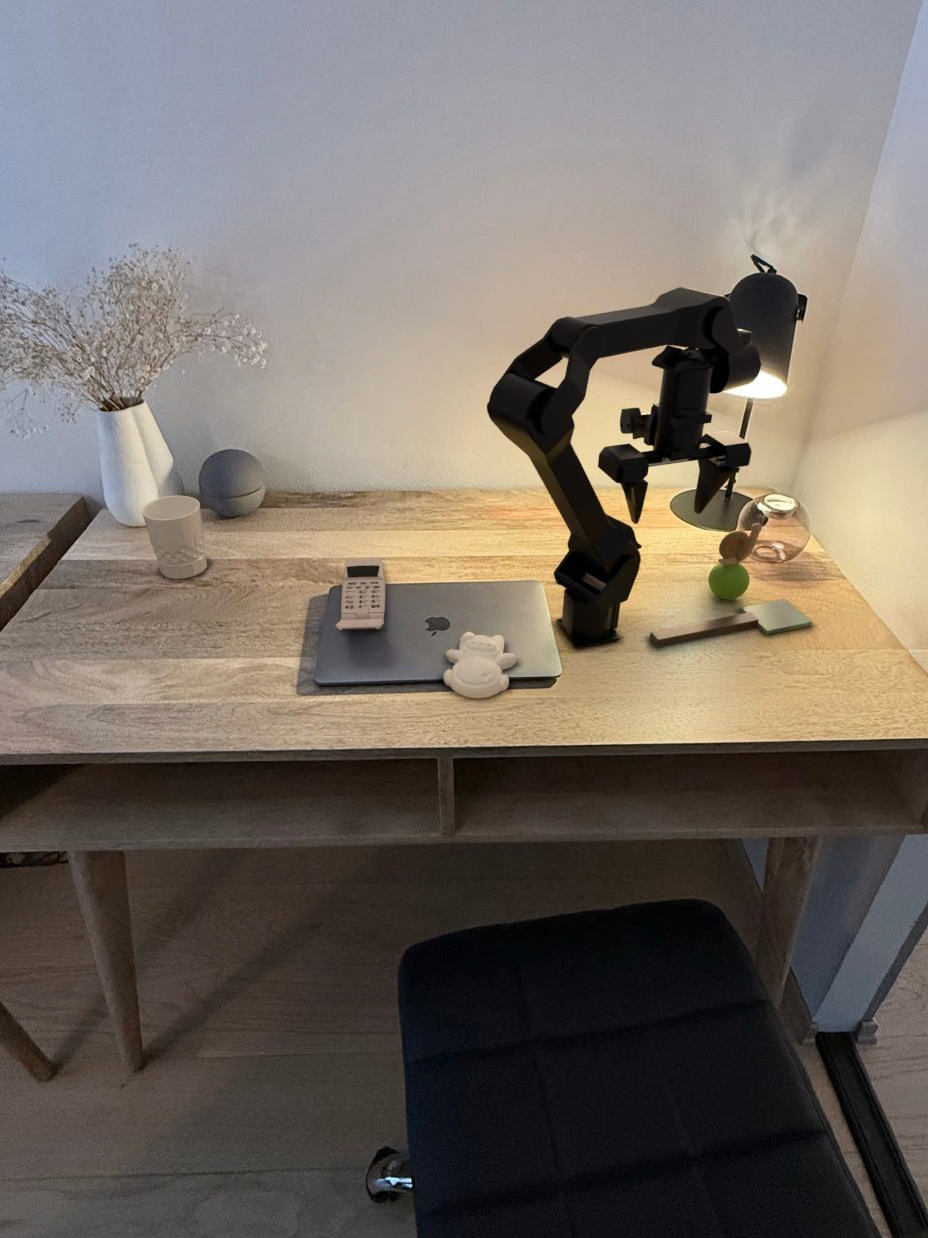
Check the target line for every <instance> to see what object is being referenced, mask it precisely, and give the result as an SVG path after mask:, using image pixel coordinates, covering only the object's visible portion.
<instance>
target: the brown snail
mask: <svg viewBox="0 0 928 1238" xmlns="http://www.w3.org/2000/svg"><path fill="white" fill-rule="evenodd" d="M757 519H758V521H757V522H755V523H753V524H752V525H751V527H750V534H749V535H748V534H747V532H745V531H743V530H740V529H738V530H733V531H730V532H729V533H727V534H726V535H725V536H724V537H723V538H722V540H721V541H720V543H719V546H718V553H719V555H720V556H721V558H718V559H717V562H718V563H717V564H716V565H714V566H713V567H712V569H710V572H709V574H708V580H707V582H708V587H709V588H710V591H711V592H712V593H713V595H714V596H716V597H718V598H719V599H723V600H728V601H729V600H734V599H738V598H739V597H741V596H743V595H744V594H745V592H746V591H747V590H748V588H749V585H750V574H749V571H748V569H747V568H746V567H745V566H744V565H743V564H741V562H743V561H745V560H746V559H747V558H748V557H749V556H750V554H751V553H752V552H753V550H754V548H755V546H756V544H757V542H758V539H759V535H760V533H761V532H762V530H763V523H764V521H765V520H766V517H765V516H764V515H763V516H762V514H761V513H759V514H757ZM760 520H761V523H760Z"/></svg>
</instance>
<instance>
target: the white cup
mask: <svg viewBox="0 0 928 1238" xmlns="http://www.w3.org/2000/svg"><path fill="white" fill-rule="evenodd" d="M201 510H202V509H201V503H200V501H199V500H198V499H197V498H194V497H192V496H189V495H170V496H169V495H167V496H163V497H160V498H157V499H153V500H152V501H150V502H148V503H146V505H144V506H143V508H142V509H141V514H142V517H143V520H144V523H145V528H146V530H147V534H148V537H149V542H150V544H151V546H152V550H153V553H154V555H155V558H156V561H157V564H158V568H159V571H160V574H162V575H163V576H164V577H165V578H168V579H172V580H183V579H188V578H192V577H196V576H198V575H199V574H201V573H203V572H204V571H206V569H207V568H208V560H207V555H206V549H207V547H206V537H205V532H204V525H203V518H202V511H201Z"/></svg>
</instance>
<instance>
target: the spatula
mask: <svg viewBox="0 0 928 1238" xmlns="http://www.w3.org/2000/svg"><path fill="white" fill-rule="evenodd" d="M812 624H813V621H812V620H810V619H809V617H807V616H806V615H805V614H804V613H802V612H801V611H800V610H798V609H797V608H796V607H795V606H794V605H793V604H791V603H790V602H788V601H787V600H786V599H785V598H783V599H778V600H773V601H768V602H763V603H758V604H752V605H748V606H743V607H741V608H740V613H739V614H733V615H727V616H724V617H719V618H713V619H709V620H708V619H707V620H703V621H699V622H698V621H697V622H693V623H688V624H682V625H678V626H673V627H672V626H671V627H668V628H662V629H657V630H651V631H650V634H649V640H650V642H651V643H653V645H654V646H655V647H656V648H660V647H665V646H666V647H667V646H671V645H677V644H680V643H685V642H690V641H696V640H701V639H705V638H710V637H714V636H721V635H725V634H730V633H735V632H740V631H744V630H751V629H754V628H758V629H759V630H760V631H761V632H762V633H763V634H765V635H766V636H770V635H775V634H778V633H784V632H789V631H793V630H798V629H803V628H807V627H811V626H812Z"/></svg>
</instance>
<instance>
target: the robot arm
mask: <svg viewBox="0 0 928 1238" xmlns="http://www.w3.org/2000/svg"><path fill="white" fill-rule="evenodd" d="M752 338H753V332H752V331H749V330H746V329H742V328H738V327H737V323H736V320H735V318H734V315H733V312H732V310H731V304H730V299H729V297H727V296H724V295H720V294H715V293H711V292H707V291H703V290H698V289H694V288H689V287H686V286H685V287H684V286H680V287H676V288H674V289H671V290H669V291H666V292H664V293H662V294H659V296H658V297H657V298H656V299H655V301H654V302H652V303H650V304H648V305H642V306H637V307H631V308H630V307H629V308H624V309H618V310H613V311H606V312H600V313H594V314H589V315H588V314H587V315H582V316H577V317H574V316H569V315H568V316H564V317H559V318H558V319H556V320H555V321H554V322H553V323H552V324H551V325H550V327H549V329H548V330H547V331H546V332H545V334H544V335H543V336H542V338H541V339H539V340H538V341H537V342H535V343H534V344H532V345H531V346H529V347H528V348H526V349H525V350H524V351H522V352H521V353H519V354H518V355H517V356H516V357H515V358H514V359H513V360H512V361H511V363H510V364H509V366H508V367H507V369H506V370H505V372H504V373H503V374H502V375H501V377H500V379H499V380H498V381H497V382H496V384H495V385H493V388H492V390H491V392H490V394H489V398H488V399H489V401H488V402H487V403H486V411H487V415H488V418H489V419H490V421H491V422H492V423H493V424H494V426H496V427H497V429H498V430H499V431H500V432H501V434H503V435H504V436H505V438H507V439H508V440H509V441H510V442H512V444H514V445H515V446H516V447H518V448H519V449H520V450H521V451H522V452H523V453H524V454H525V455H527V456H528V458H529V459H530V462H531V463H532V465H533V467H534V469H535V470H536V472H537V474H538V476H539V478H540V480H541V481H542V483H543V485H544V487H545V489H546V490H547V493H548V494H549V496H550V498H551V500H552V501H553V503H554V506H555V507H556V508H557V509H556V510H558V513H559V515H560V516H561V518H562V519H563V522H564V523H565V525H566V527H567V528H568V530H569V533H570V535H569V538H568V541H567V548H568V551H567V552H566V554H565V555H564V557H563V558H562V560H561V561H560V563H559V564H558V565H557V567H556V568H555V569H554V571H553V576H554V580H555V584H557V585H558V586H561V587H563V588H564V590H563V602H562V614H561V617H560V618H557V619H556V621H555V625H557V627H558V628H559V630H560V631H561V632H562V633H563V635H564V636H565V637H566V639H567V640H568V641H569V643H570V644H571V646H572V647H573V648H575V649H581V648H586V647H592V646H596V645H602V644H607V643H612V642H617V641H619V640H620V639H621V638H620V637H621V635H620V634H619V632H618V631H617V630H616V629H617V628H618V627H619V618H620V611H621V604H623V603H625V602H626V601H628V600H629V597H630V595H631V592H632V589H633V586H634V584H635V582H636V579H637V576H638V574H639V571H640V566H641V559H642V556H641V553H640V549H641V548H643V545H642V544H640V543H639V542H638V540H637V537H636V533H635V530H634V529H633V527H632V526H631V525H630V524H628V523H625V522H623V521H622V520H619V518H616V517H613V516H612V515H610V514H608V513H606V512H605V509H604V507H603V506H602V503H601V502H600V499H599V497H598V495H597V493H596V490H595V488H594V487H593V485H592V483H591V481H590V479H589V477H588V474H587V472H586V470H585V469H584V467H583V465H582V463H581V460H580V458H579V456H578V454H577V453H576V451H575V447H574V446H573V443H572V438H573V435H574V432H575V429H576V422H575V419H574V414H575V413H576V411H577V410H578V409H579V407H580V406H581V404H582V403H583V402H584V400H585V398H586V395H587V391H588V390H587V389H588V385H589V379H590V375H591V370H592V368H593V367H594V366H595V364H596V363H597V362H598V360H600V359H605V358H610V357H615V356H620V355H624V354H629V353H634V352H638V351H644V350H648V349H654V348H659V347H664V346H665V347H664V349H663V350H662V351H661V352H660V353H658V354H657V355H656V356H655V357H654V358H653V359H652V361H651V366H652V367H655V368H658V369H661V370H662V376H661V383H660V384H661V385H660V392H659V399H658V402H655V403H652V406H651V408H650V412H644V413H642V411H641V408H640V407H638V406H637V407H628V408H627V407H626V408H621V412H620V418H619V431H620V432H621V434H623V435H630V434H632V440H637V439H643V444H645V445H646V446H647V447H649V446H651V447H652V450H644V451H639V450H638V448H636V447H635V446H634V445H632V444H631V443H622V444H615V445H607V446H604V447H603V448H602V449H601V450H600V452H599V454H598V460H597V468H599V469H600V471H602V472H603V473H604V474H605V475H606V476H607V477H609V478H610V479H611V480H612V481H613V482H614V483H615V484H619V485H620V486H621V489H622V491H623V494H624V498H625V502H626V505H627V509H628V513H629V516H630V520H631V523H633V524H634V525H638V524H639V522H640V518H641V517H642V513H643V508H644V504H645V499H646V495H647V492H648V487H649V481H647V480H646V479H645V478H646V477H648V475H649V468H651V467H658V466H665V465H666V466H667V465H671V464H672V465H673V464H680V463H686V462H687V463H688V462H693V461H697V464H698V469H699V470H698V477H697V483H696V489H695V495H694V501H693V502H694V503H693V511H694V513H695V514H697V515H700V514H702V512H703V511H704V510H705V508H706V507H707V506H708V505H709V504H710V502H711V501H712V500H713V498H714V497H715V496H716V494H717V493H718V492H719V491H720V489H721V488H722V487H723V486H724V485H725V484H726V483H727V482H728V481H729V480H730V479H731V477H732V476H733V475H734V474H739V473H740V470H741V467H749V465H750V463H751V458H752V453H753V450H752V447H751V445H750V443H749V441H746V440H745V439H743V438H742V437H741V436H739V435H738V434H736V433H734V432H732V431H731V430H728V429H727V430H721V431H713V432H706V433H704V428H705V424H712V418H713V414H712V413H711V412H709V411H707V410H708V404H709V397H710V394H711V395H715V394H721V393H723V392H727V391H730V390H734V389H736V388H737V389H738V388H740V387H743V386H747V385H749V384H751V383H753V382H754V381H755V380H756V379H757V378H758V376H759V374H760V371H761V369H762V361H761V356H760V353H759V350H758V348H757V347H756V345H755V344H754V343H753V342H752ZM680 347H682V348H680ZM563 359H565V360H567V364H566V370H565V374H564V378H563V379H562V380H561V382H560V383H559V385H558V386H557V387H555V386H552V385H550V384H548V383H545V382H543V381H540V380H538V378H539V377H541V376H542V375H543V374H545V373H546V372H547V371H549V370H551V369H552V368H553V367H555V366H556V365H558V364H559V363H560V362H561V361H562V360H563Z"/></svg>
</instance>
